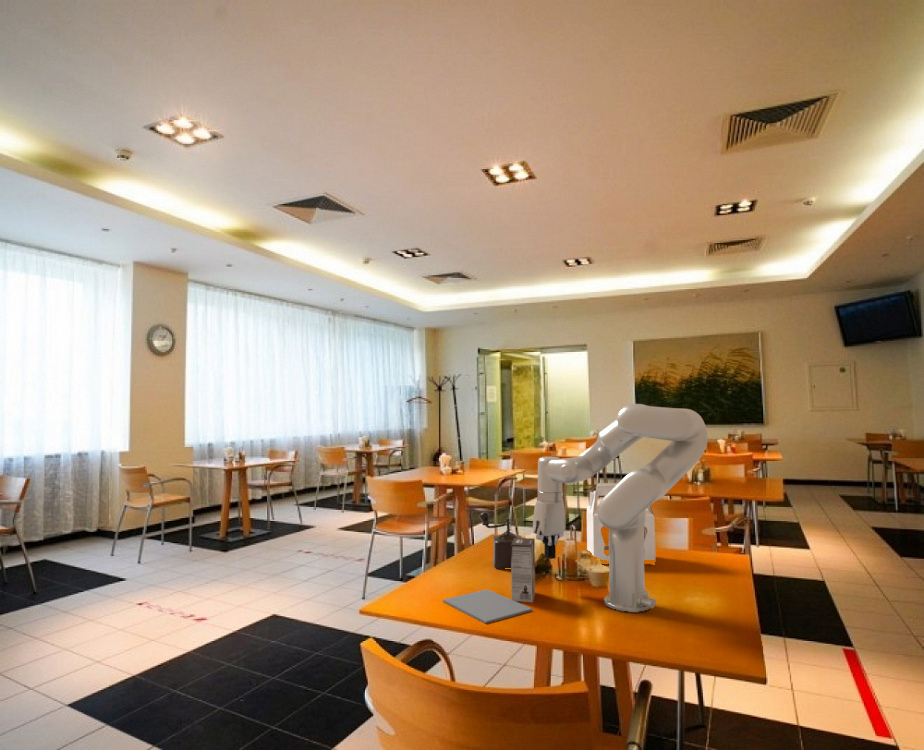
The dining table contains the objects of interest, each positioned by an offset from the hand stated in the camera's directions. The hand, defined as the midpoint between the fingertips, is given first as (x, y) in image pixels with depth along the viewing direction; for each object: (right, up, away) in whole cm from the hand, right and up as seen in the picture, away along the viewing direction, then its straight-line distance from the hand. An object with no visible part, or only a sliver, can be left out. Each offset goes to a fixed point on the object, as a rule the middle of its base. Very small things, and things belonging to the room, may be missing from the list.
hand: (550, 557), depth 168 cm
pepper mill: (-13, -12, +26) cm, 32 cm away
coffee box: (-9, -9, -7) cm, 15 cm away
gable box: (+31, -12, +33) cm, 47 cm away
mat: (-20, -9, -15) cm, 27 cm away
